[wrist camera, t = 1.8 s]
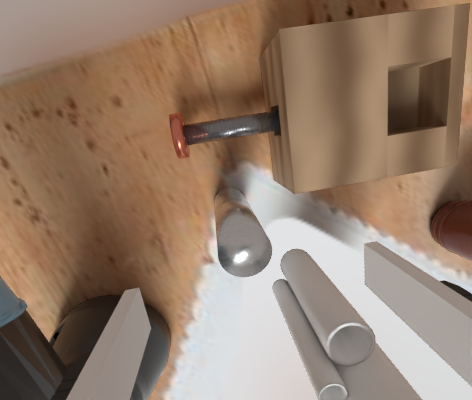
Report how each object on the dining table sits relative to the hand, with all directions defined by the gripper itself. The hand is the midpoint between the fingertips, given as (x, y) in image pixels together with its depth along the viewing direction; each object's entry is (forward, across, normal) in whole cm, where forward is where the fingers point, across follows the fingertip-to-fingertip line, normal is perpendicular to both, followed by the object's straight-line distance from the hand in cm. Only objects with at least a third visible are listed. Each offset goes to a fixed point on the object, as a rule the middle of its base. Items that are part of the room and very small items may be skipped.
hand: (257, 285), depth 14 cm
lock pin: (+16, +2, +9) cm, 19 cm away
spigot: (+18, 0, 0) cm, 18 cm away
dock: (+18, +15, +9) cm, 25 cm away
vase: (+18, +8, -14) cm, 24 cm away
